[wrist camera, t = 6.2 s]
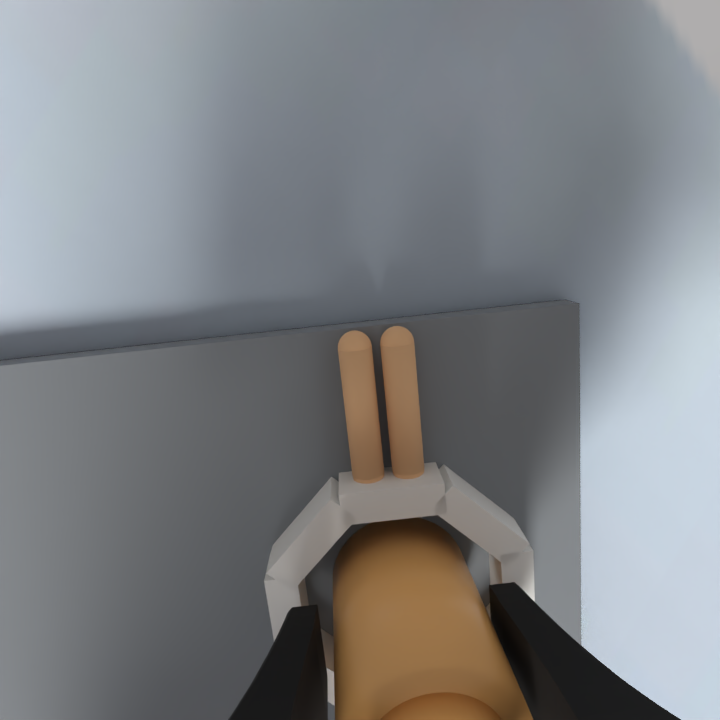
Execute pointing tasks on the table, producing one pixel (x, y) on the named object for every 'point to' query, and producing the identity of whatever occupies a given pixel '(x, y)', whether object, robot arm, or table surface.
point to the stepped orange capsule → (415, 631)
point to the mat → (267, 494)
